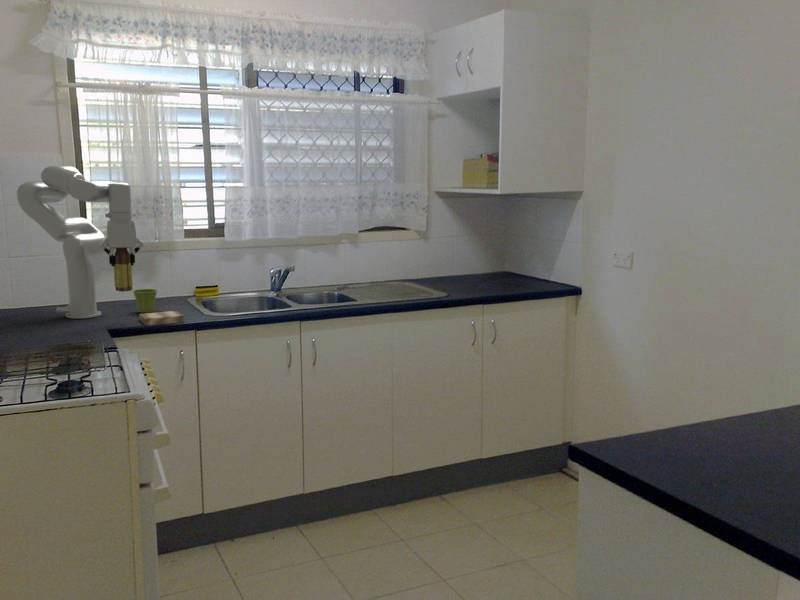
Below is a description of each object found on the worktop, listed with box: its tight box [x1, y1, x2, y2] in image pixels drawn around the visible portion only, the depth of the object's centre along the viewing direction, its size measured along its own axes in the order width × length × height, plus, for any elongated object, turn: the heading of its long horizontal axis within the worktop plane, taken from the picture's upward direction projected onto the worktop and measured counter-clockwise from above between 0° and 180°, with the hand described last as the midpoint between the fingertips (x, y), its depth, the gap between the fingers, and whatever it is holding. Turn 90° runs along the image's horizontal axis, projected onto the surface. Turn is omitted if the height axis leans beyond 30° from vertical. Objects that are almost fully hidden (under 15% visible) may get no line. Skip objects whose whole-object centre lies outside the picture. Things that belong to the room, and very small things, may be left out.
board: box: [138, 310, 185, 327], centre depth 279 cm, size 14×11×2 cm
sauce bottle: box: [113, 248, 133, 293], centre depth 276 cm, size 6×6×20 cm
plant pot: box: [132, 288, 159, 314], centre depth 298 cm, size 9×9×9 cm
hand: (122, 265), depth 276 cm, fingers closed on sauce bottle, 6 cm apart
